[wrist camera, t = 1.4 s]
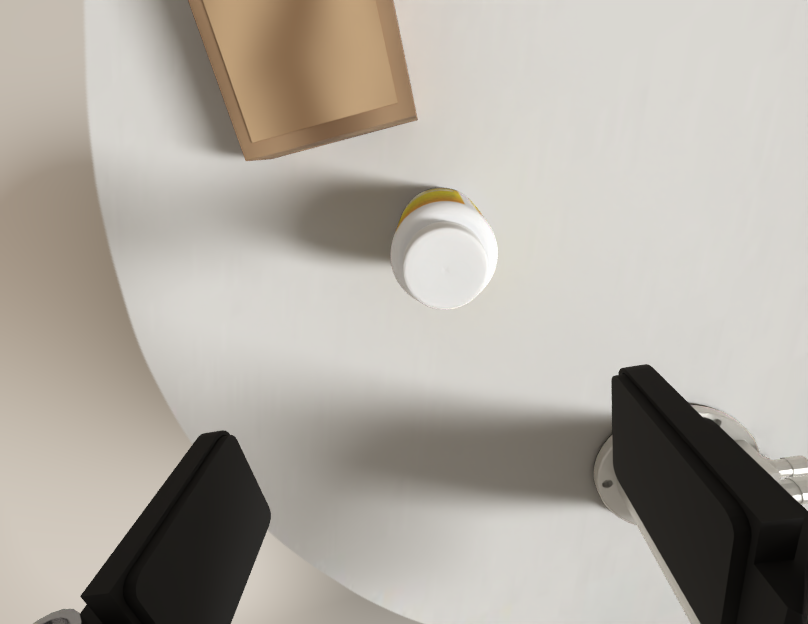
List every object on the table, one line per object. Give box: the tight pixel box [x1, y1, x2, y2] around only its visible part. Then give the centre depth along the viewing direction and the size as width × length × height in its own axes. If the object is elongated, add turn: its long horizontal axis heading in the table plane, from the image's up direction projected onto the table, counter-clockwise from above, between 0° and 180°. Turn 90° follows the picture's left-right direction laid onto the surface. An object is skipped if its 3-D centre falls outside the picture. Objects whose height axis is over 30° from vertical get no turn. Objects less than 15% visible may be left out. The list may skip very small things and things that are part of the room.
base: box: [188, 0, 418, 161], centre depth 22 cm, size 10×10×4 cm
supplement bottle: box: [391, 188, 498, 310], centre depth 23 cm, size 6×6×10 cm
